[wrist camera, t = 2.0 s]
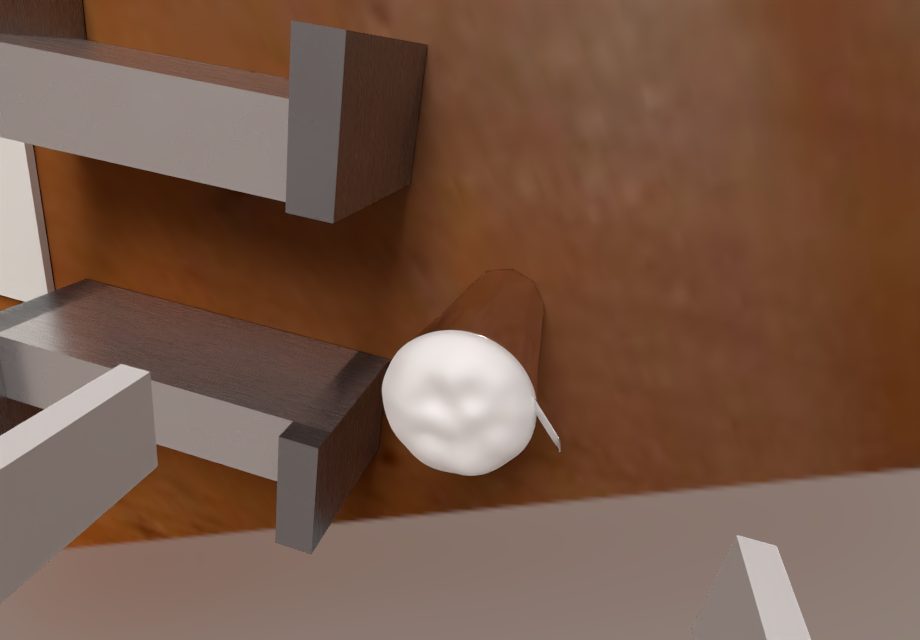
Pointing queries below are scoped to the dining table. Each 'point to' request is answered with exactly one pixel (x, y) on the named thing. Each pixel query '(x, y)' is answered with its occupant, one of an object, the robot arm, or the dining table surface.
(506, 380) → the milkshake
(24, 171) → the pad
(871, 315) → the dining table surface
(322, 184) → the brackets
